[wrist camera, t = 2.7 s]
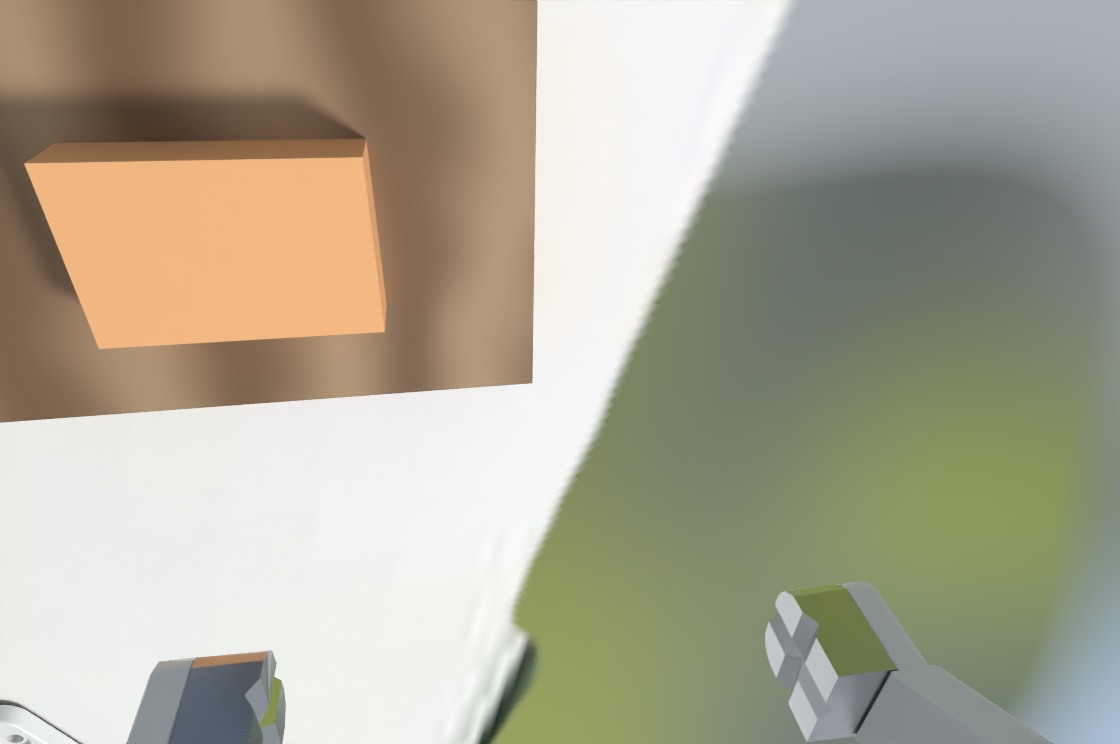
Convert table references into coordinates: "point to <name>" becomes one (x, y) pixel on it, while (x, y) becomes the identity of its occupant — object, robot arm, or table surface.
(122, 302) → the block
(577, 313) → the table surface
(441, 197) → the deck
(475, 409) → the table surface
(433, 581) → the table surface
